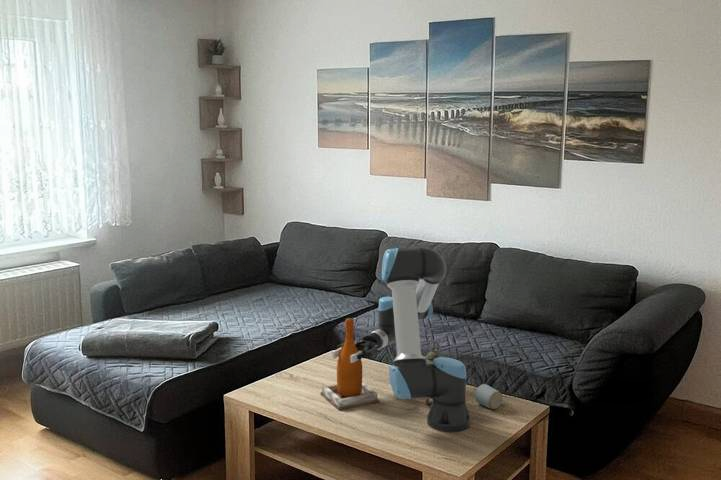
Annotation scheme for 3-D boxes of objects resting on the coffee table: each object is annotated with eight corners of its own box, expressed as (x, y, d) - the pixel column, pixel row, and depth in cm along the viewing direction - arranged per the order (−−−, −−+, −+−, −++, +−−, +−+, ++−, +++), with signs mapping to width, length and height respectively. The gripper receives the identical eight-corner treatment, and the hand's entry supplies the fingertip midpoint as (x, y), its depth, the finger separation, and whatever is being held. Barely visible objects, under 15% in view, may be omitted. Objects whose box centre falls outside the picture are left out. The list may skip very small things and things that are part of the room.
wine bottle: (363, 388, 298) (363, 315, 292) (361, 398, 289) (361, 322, 283) (338, 387, 299) (338, 314, 293) (335, 397, 290) (335, 321, 284)
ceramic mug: (489, 412, 281) (490, 392, 280) (474, 405, 288) (474, 385, 286) (509, 406, 288) (510, 386, 286) (493, 399, 294) (494, 380, 293)
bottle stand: (379, 402, 290) (379, 393, 290) (338, 410, 283) (338, 401, 282) (359, 387, 305) (359, 379, 305) (320, 394, 298) (320, 386, 297)
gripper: (396, 354, 301) (364, 372, 282) (353, 345, 312) (320, 361, 293) (396, 336, 299) (364, 352, 281) (353, 327, 310) (320, 342, 292)
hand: (342, 357), depth 287 cm, fingers closed on wine bottle, 8 cm apart
